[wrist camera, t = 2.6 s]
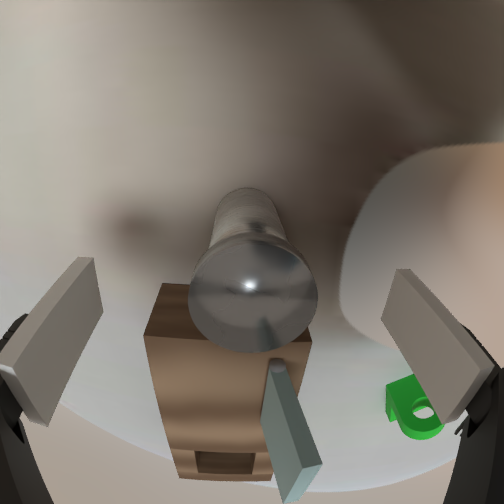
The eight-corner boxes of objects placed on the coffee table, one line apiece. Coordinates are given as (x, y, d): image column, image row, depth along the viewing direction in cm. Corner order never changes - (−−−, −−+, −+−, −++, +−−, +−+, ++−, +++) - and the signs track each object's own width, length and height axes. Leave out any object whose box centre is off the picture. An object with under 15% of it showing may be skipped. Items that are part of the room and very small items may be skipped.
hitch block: (162, 283, 22) (143, 335, 17) (295, 289, 23) (312, 341, 18) (183, 436, 32) (179, 478, 26) (266, 439, 32) (270, 480, 27)
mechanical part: (385, 410, 32) (405, 460, 25) (385, 383, 30) (410, 440, 22) (464, 374, 31) (490, 416, 24) (471, 344, 28) (504, 389, 21)
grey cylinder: (210, 180, 19) (184, 242, 10) (285, 183, 20) (327, 247, 10) (210, 249, 21) (191, 351, 12) (279, 251, 22) (307, 352, 12)
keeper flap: (267, 359, 18) (303, 466, 11) (283, 358, 18) (323, 462, 12) (258, 417, 21) (282, 504, 14) (271, 415, 21) (297, 501, 14)
